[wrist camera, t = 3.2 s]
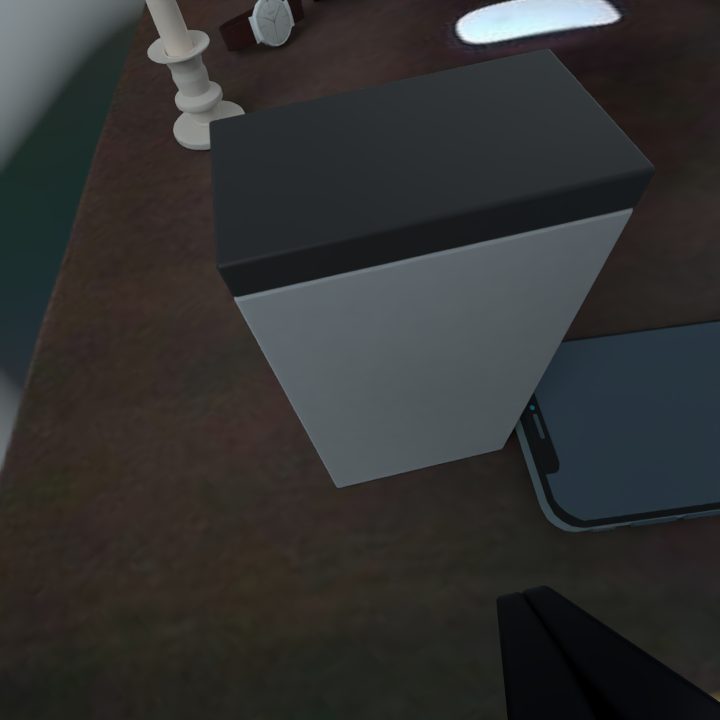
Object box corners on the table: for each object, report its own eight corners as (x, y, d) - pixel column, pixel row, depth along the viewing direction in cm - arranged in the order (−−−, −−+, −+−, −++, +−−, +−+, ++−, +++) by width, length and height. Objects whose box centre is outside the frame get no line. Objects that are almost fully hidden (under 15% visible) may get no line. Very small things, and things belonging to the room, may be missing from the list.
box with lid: (503, 449, 18) (659, 168, 7) (336, 489, 18) (214, 267, 7) (470, 367, 20) (549, 46, 9) (321, 402, 20) (207, 119, 9)
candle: (243, 101, 33) (183, -89, 24) (250, 140, 31) (185, -56, 22) (175, 116, 33) (89, -69, 24) (176, 157, 31) (80, -33, 22)
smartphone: (1000, 472, 15) (560, 533, 15) (945, 486, 16) (545, 541, 16) (847, 297, 19) (497, 344, 19) (813, 320, 20) (489, 363, 20)
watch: (245, 68, 36) (229, 15, 33) (215, 50, 38) (198, -1, 35) (318, 30, 38) (310, -23, 35) (286, 15, 40) (276, -36, 37)
